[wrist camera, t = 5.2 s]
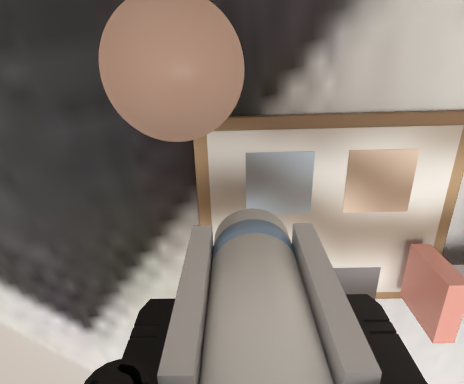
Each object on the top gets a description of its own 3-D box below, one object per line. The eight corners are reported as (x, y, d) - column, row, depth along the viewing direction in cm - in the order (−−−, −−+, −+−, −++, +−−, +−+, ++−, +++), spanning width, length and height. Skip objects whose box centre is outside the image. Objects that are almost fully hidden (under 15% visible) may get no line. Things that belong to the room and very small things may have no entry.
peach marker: (173, 26, 17) (85, -12, 7) (238, 24, 17) (243, -17, 7) (179, 93, 18) (112, 143, 8) (239, 92, 18) (245, 140, 8)
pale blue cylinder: (209, 207, 13) (134, 673, 3) (292, 204, 13) (474, 670, 3) (214, 275, 15) (172, 760, 5) (290, 273, 15) (416, 759, 5)
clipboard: (193, 116, 19) (191, 119, 18) (472, 109, 19) (482, 112, 18) (206, 297, 24) (205, 305, 23) (425, 294, 24) (431, 302, 23)
